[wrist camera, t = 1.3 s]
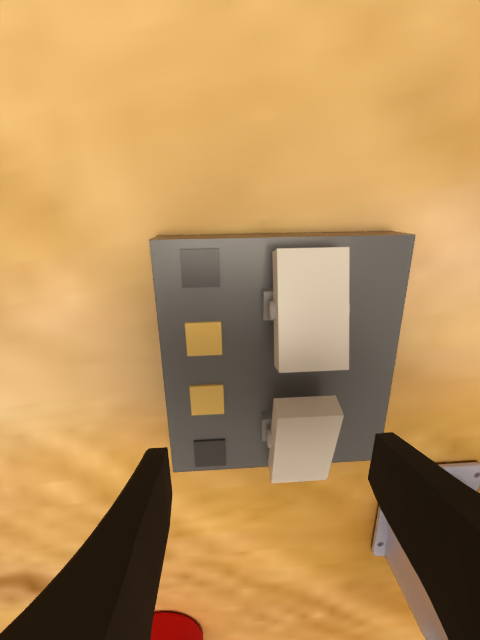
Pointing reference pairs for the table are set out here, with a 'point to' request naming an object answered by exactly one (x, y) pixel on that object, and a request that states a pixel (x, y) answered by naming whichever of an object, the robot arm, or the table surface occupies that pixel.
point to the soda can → (174, 627)
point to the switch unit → (267, 342)
